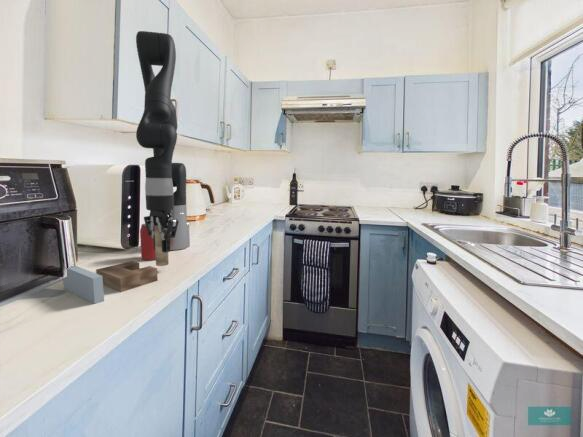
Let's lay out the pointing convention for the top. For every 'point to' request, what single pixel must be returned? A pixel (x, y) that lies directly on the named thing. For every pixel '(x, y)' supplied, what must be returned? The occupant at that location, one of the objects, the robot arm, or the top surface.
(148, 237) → the beer can
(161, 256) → the dowel
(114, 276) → the block
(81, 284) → the wall
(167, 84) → the robot arm
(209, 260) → the top surface
